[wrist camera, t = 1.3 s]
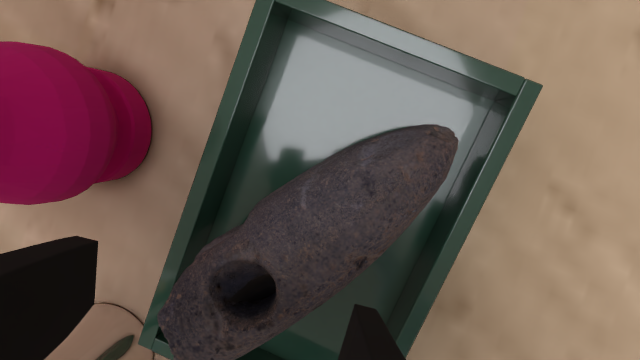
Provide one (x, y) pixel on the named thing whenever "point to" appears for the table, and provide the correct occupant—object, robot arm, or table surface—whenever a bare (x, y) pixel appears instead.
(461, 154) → the dish
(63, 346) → the beer glass
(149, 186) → the table surface
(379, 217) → the perforated stone tool
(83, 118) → the pepper mill
